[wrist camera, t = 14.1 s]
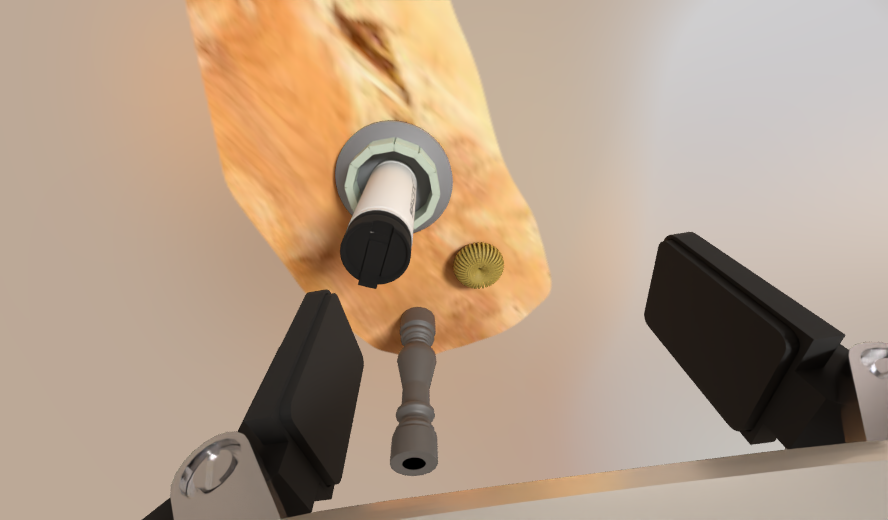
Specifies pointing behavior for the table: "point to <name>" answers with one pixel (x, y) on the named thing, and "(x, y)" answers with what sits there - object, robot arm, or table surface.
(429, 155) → the mug dock
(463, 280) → the sculpture
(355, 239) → the travel mug
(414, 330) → the candle holder
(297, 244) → the table surface
